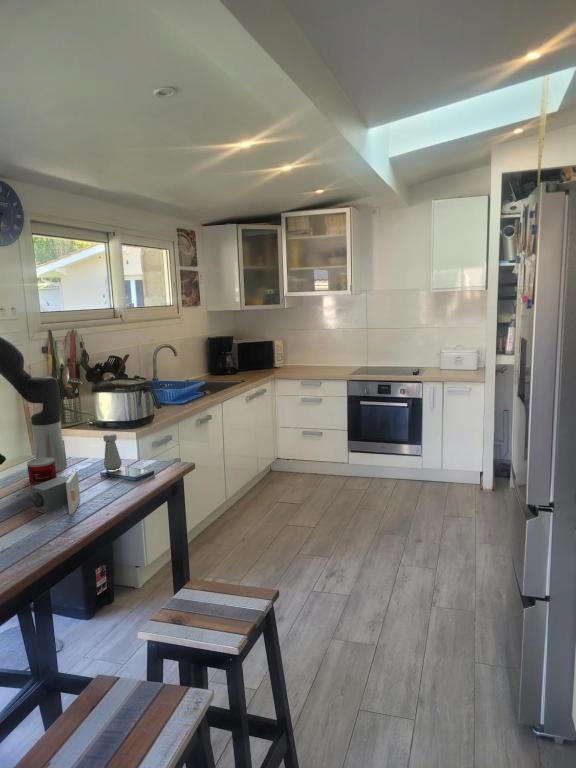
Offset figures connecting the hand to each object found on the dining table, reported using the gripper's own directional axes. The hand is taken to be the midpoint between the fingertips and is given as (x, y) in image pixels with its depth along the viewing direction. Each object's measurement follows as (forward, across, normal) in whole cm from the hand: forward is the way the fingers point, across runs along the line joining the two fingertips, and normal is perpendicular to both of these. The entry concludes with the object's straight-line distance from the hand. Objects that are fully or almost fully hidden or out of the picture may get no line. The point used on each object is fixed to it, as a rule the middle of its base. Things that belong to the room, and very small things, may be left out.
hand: (3, 461), depth 147 cm
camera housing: (+21, +8, +4) cm, 23 cm away
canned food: (+20, +20, +6) cm, 29 cm away
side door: (+24, +3, +1) cm, 25 cm away
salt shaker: (+37, +31, -11) cm, 49 cm away
